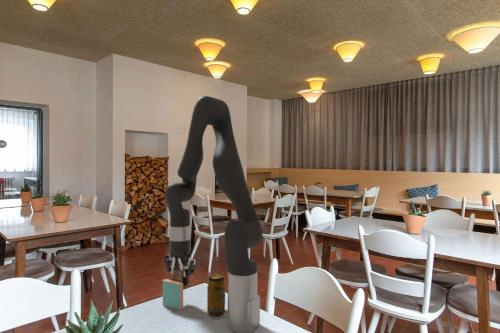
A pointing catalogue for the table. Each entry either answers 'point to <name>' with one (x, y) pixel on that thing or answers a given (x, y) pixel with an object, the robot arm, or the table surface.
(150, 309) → the table surface
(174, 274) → the block
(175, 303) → the tile
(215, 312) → the condiment
